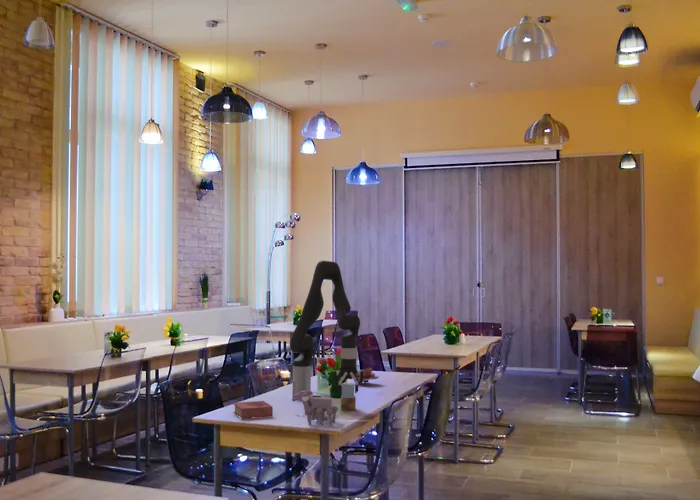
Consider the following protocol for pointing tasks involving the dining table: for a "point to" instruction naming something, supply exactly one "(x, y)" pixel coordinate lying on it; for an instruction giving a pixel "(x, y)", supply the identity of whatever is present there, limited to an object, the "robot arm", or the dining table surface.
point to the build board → (340, 408)
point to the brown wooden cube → (348, 404)
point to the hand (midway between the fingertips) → (348, 392)
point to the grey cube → (347, 390)
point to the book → (253, 409)
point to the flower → (366, 375)
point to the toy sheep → (317, 406)
